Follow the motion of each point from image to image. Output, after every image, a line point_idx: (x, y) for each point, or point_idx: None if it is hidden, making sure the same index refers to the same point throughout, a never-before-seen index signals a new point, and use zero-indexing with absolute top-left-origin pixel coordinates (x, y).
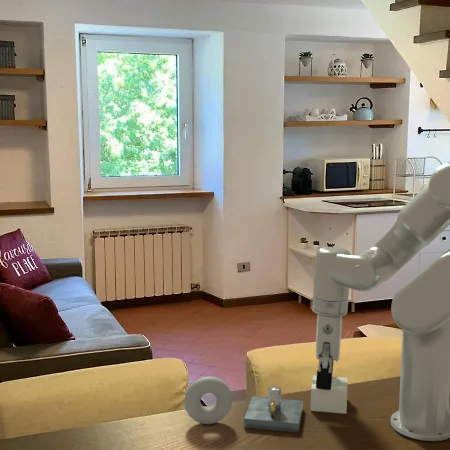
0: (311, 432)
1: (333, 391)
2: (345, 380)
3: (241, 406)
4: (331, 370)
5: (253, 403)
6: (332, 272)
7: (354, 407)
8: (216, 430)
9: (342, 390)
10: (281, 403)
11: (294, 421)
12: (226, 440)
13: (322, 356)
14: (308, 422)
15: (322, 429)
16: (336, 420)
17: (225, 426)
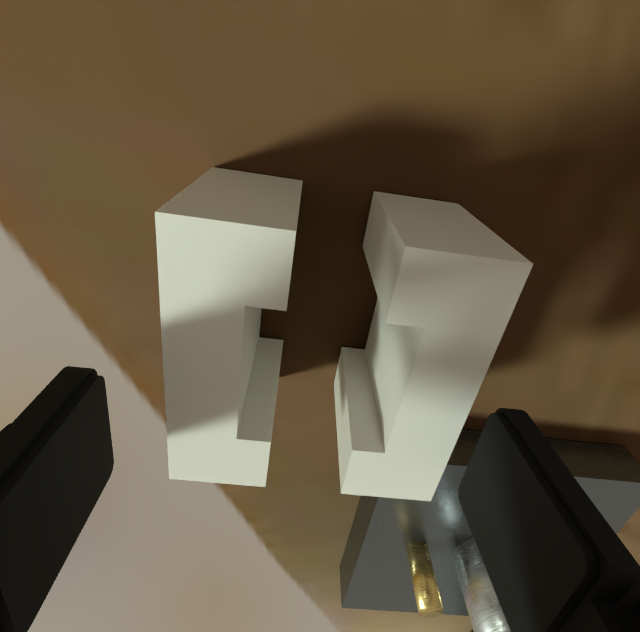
0: (636, 400)
1: (481, 367)
2: (238, 243)
3: None
4: (96, 388)
5: (414, 604)
6: None
7: (354, 126)
8: None
9: (500, 304)
10: (420, 532)
11: (630, 497)
12: None
13: (25, 609)
14: (530, 405)
15: (623, 354)
16: (538, 276)
17: None
